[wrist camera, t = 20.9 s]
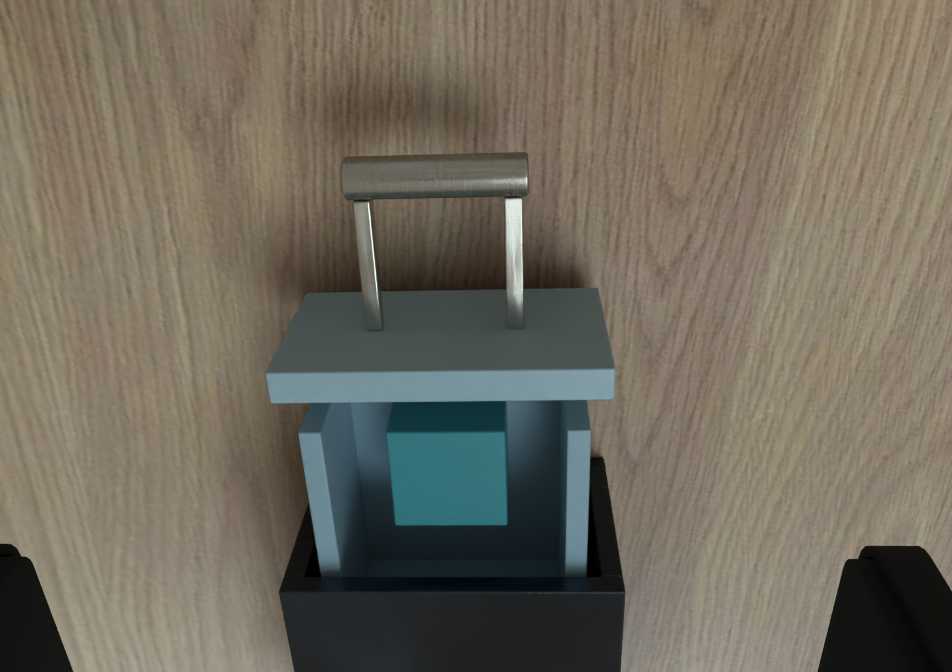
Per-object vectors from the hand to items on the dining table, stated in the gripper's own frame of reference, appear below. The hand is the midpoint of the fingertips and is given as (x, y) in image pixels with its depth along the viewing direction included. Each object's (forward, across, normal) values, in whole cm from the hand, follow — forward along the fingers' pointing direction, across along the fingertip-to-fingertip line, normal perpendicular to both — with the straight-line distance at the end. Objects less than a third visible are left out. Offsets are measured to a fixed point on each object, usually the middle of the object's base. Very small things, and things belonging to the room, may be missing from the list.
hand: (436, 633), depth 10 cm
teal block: (+22, +1, +12) cm, 24 cm away
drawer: (+23, +1, +10) cm, 25 cm away
